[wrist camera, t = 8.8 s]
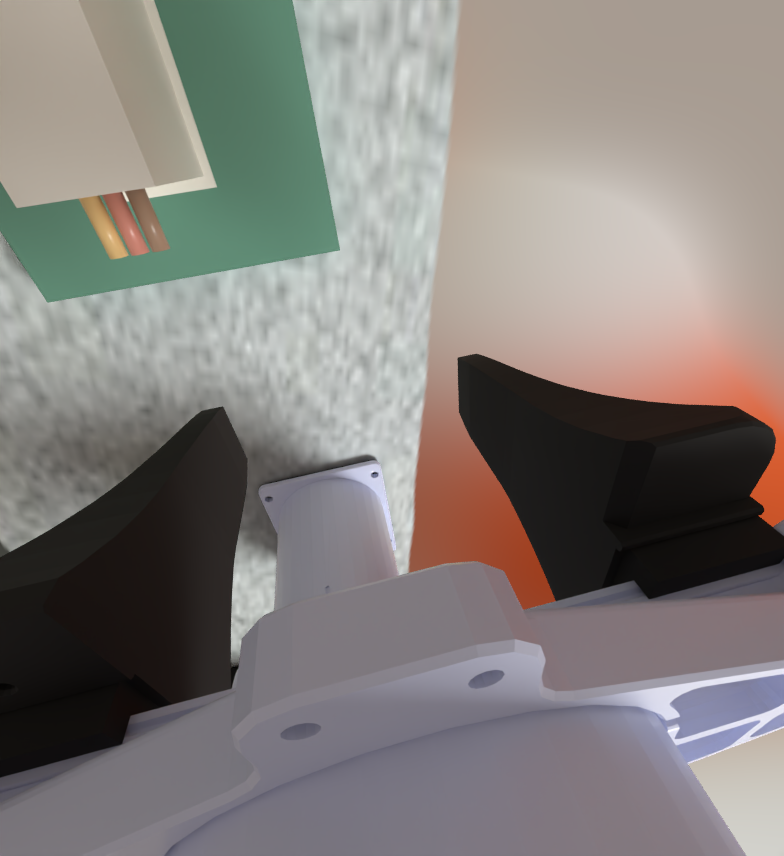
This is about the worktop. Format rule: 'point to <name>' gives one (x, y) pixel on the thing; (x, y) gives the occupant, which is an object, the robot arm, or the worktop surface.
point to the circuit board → (206, 162)
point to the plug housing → (90, 115)
